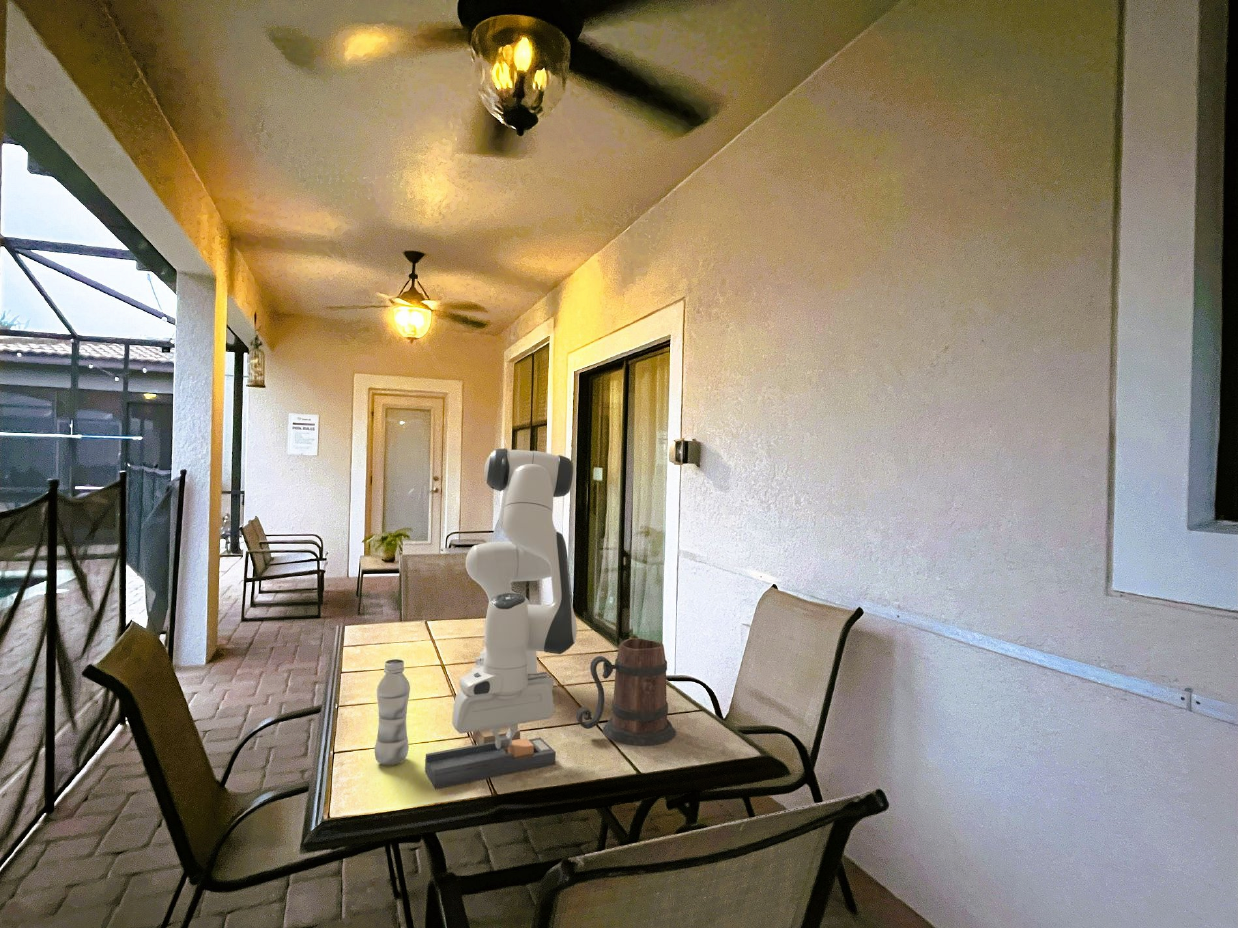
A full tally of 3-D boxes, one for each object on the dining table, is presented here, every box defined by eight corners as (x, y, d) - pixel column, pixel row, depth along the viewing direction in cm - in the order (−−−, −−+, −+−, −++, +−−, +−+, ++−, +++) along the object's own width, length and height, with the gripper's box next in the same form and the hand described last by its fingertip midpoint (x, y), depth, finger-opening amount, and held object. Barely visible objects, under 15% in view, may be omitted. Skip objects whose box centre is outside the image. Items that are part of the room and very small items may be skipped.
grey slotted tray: (424, 771, 128) (425, 753, 128) (540, 749, 140) (540, 732, 140) (434, 789, 121) (435, 770, 121) (555, 764, 133) (555, 746, 133)
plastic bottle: (412, 755, 135) (415, 657, 135) (402, 769, 128) (405, 666, 128) (380, 754, 135) (383, 656, 135) (369, 769, 128) (372, 666, 128)
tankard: (656, 713, 162) (658, 632, 162) (689, 740, 146) (691, 650, 147) (565, 725, 153) (567, 638, 153) (589, 754, 138) (592, 658, 138)
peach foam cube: (508, 741, 134) (526, 737, 135) (507, 760, 133) (525, 757, 135) (514, 748, 130) (533, 745, 132) (513, 768, 130) (533, 765, 132)
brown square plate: (472, 737, 145) (472, 723, 145) (507, 731, 149) (507, 717, 149) (483, 751, 138) (484, 736, 138) (519, 744, 142) (520, 730, 142)
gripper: (547, 666, 139) (545, 732, 139) (451, 679, 129) (449, 749, 129) (559, 674, 134) (557, 743, 134) (460, 688, 124) (457, 762, 124)
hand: (503, 746), depth 131 cm, fingers closed
